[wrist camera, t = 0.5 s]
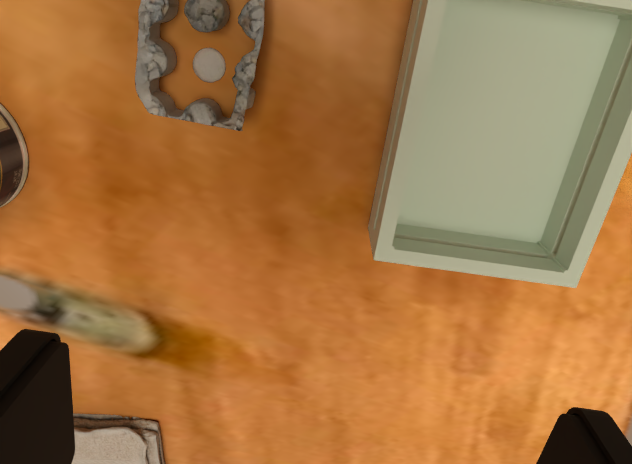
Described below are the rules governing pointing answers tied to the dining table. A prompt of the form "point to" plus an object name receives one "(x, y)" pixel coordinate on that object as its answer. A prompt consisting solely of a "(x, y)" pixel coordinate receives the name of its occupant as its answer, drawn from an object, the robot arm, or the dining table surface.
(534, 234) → the tray
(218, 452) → the dining table surface
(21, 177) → the coffee can
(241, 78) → the egg carton
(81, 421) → the washcloth
